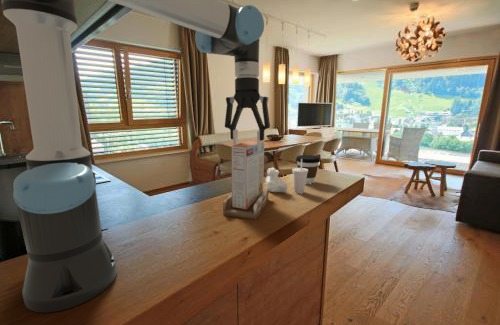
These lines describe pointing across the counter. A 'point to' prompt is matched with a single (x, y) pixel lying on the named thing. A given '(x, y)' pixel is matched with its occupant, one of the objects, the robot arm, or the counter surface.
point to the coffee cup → (309, 166)
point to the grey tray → (249, 213)
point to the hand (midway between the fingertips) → (247, 149)
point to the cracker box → (247, 174)
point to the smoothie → (299, 179)
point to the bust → (275, 181)
